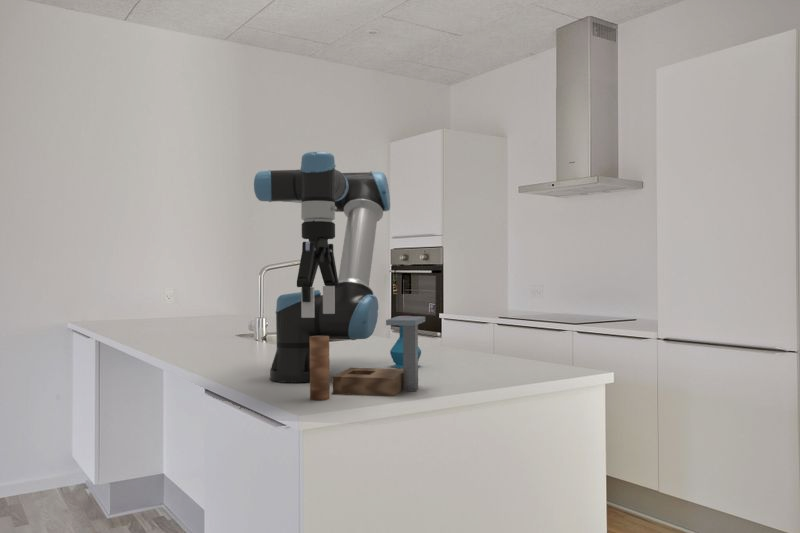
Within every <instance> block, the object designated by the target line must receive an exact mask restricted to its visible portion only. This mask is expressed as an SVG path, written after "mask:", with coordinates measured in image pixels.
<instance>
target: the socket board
mask: <svg viewBox="0 0 800 533" xmlns="http://www.w3.org/2000/svg"><path fill="white" fill-rule="evenodd" d="M402 391H403V368H376V367H375V368H374V367H371V368H370V367H349V368H347V369H345V370H343V371H341V372H339V373H337V374H335V375H333V376H332V395H333V394H334V395H355V396H356V395H358V396H359V395H360V396H361V395H362V396H382V397H383V396H385V397H396V396H397V395H398V394H399V393H401V392H402Z"/></svg>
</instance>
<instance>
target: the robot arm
mask: <svg viewBox="0 0 800 533" xmlns="http://www.w3.org/2000/svg"><path fill="white" fill-rule="evenodd" d="M335 160H336V159H335V156H334V154H332V153H331V152H327V151H310V152H309V151H308V152H305V153H303V154H302V157H301V162H300V163H301V164H300V169H280V170H271V169H268V170H260V171H258V172H256V173H255V176H254V179H253V191H254V195H255V197H256V199H257V200H258V201H259V202H269V203H271V202H273V203H274V202H283V203H287V202H288V203H294V204H295V203H297V204H301V205H300V206H301V209H300V210H301V211H300V212H301V213H300V214H301V215H300V218H301V220H302V221H303V222H302V223H301V238H302V239H303V240H308V241H303V242H302V249H301V250H302V251H301V256H300V263H299V268H298V273H297V279H296V287H297V288H300V292H292V293H286V294H280V295H279V296H278V298H277V299H276V306H275V307H276V310H275V320H276V321H275V322H276V326H275V327H276V329H275V330H276V331H275V332H276V333H275V334H276V351H275V354H274V357H273V360H272V364H271V367H270V370H269V374H270V375H269V376H270V378H269V379H270V380H271V381H274V382H277V383H308V382H309V383H310V336H329V340H351V341H356V340H367V339H368V338H370V337H372V335H373V333H374V332H375V329H376V326H377V323H378V316H379V312H378V311H379V302H378V298H377V296H376V295H374V291H373V289H372V288H371V287H370V278H371V270H372V263H373V255H374V247H375V240H376V233H377V232H376V231H377V223H378V222H379V221H380V220H382V219H383V216H384V212H388V211H390V208H391V197H390V189H389V182H388V179H387V175H386V174H385V173H384V172H382V171H368V172H341V171H339V170H337V169H336V162H335ZM338 212H339V213H344V216H345V217H347V221H346V226H345V233H344V241H343V245H342V251H341V259H340V265H339V270H338V272H337V266H336V260H335V254H334V243H329V242H328V241H329V240H333V239H335V238H336V224H335V222H334V220H336V216H335V215H336V214H335V213H338ZM318 268H319V270H320V275H321V278H322V280H323V285H322V294H321V291H320V290H319V289H315V286H314V281H315V278H316V275H317V271H318Z"/></svg>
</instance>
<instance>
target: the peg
mask: <svg viewBox="0 0 800 533" xmlns="http://www.w3.org/2000/svg"><path fill="white" fill-rule="evenodd" d="M330 380H331V379H330V339H329V336H310V382H309V400H311V401H326V400H330V399H331V398H330V397H331V396H330V395H331V394H330V392H331V391H330V384H331V383H330Z"/></svg>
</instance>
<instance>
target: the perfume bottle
mask: <svg viewBox="0 0 800 533" xmlns="http://www.w3.org/2000/svg"><path fill="white" fill-rule="evenodd" d="M398 326H399V327H398V328H399V337H398V338H397V340H396V341H395V343H394V345H393V346H392V347H391V349H390V352H389V354H390V357H391V359H392V362H393V363H394V368H395V369H403V325H398ZM421 355H422V349H421V348H420V347H419V346H418V362H419V361H420V360H419V359H420V358H421Z"/></svg>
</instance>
